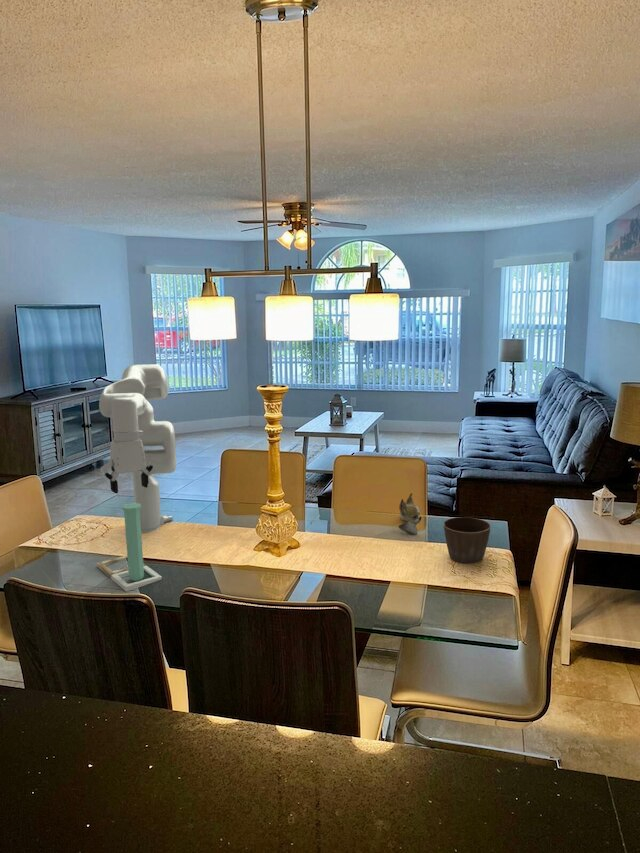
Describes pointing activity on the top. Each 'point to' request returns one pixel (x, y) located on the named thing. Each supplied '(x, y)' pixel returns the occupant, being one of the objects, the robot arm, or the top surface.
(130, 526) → the container
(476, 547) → the plant pot
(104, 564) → the stand
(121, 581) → the stand
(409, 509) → the ceramic sculpture
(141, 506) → the robot arm
